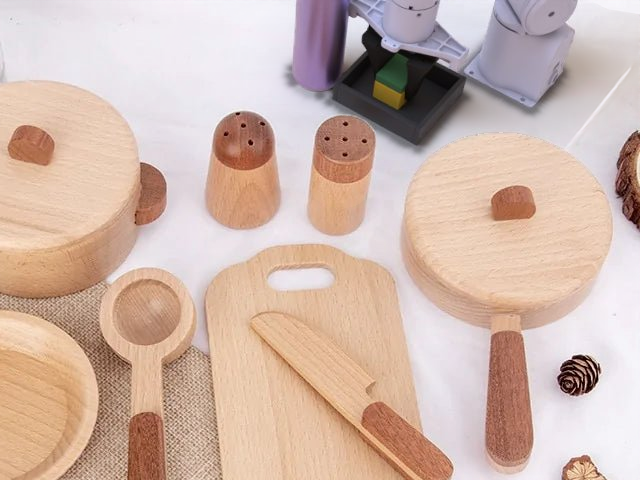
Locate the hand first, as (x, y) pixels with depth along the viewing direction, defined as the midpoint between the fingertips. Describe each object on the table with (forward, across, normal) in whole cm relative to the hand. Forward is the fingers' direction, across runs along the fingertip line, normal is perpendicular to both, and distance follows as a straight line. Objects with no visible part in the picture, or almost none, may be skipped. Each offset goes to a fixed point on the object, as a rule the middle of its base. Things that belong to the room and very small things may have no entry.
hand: (395, 86), depth 126 cm
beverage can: (+2, -9, -3) cm, 10 cm away
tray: (+1, 0, 0) cm, 2 cm away
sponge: (+1, 0, 0) cm, 1 cm away
